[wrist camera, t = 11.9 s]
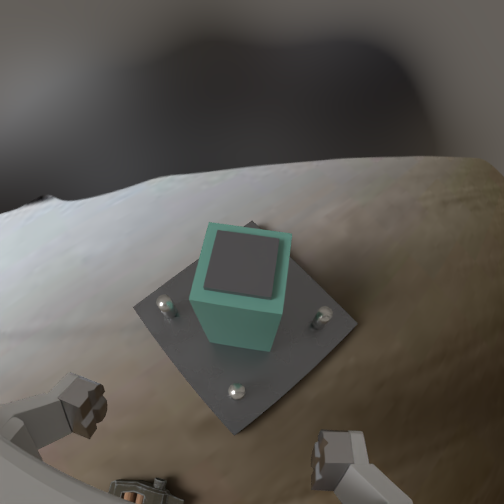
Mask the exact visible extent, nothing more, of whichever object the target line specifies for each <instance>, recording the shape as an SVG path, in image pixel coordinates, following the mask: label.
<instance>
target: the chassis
mask: <svg viewBox="0 0 504 504" xmlns="http://www.w3.org/2000/svg"><path fill="white" fill-rule="evenodd" d="M244 227H248V228H255V229H260V228H259V227H258V226H257V225H256V224H255V223H254V222H253V221H251V222H249V223H248V224H247V225H245V226H244ZM198 261H199V259H198V260H196V261H195V262H194V263H192V264H191V265H190V266H188V267H187V268H185V269H184V270H183V271H181V272H180V273H179V274H177V275H176V276H175V277H173V278H172V279H170V280H169V281H168V282H166V283H165V284H164V285H162V286H161V287H160V288H158V289H157V290H156V291H154V292H153V293H151V294H150V295H149V296H147V297H146V298H145V299H143V300H142V301H141V302H139V303H138V304H137V305H135V306H134V307H133V308H134V309H135V311H136V312H137V314H138V315H139V317H140V318H141V320H142V321H143V322H144V324H145V325H146V327H147V328H148V330H149V331H150V332H151V334H152V335H153V337H154V338H155V339H156V341H157V342H158V343H159V345H160V346H161V347H162V349H163V350H164V351H165V353H166V354H167V355H168V357H169V358H170V359H171V361H172V362H173V363H174V365H175V366H176V367H177V368H178V370H179V371H180V372H181V374H182V375H183V376H184V377H185V379H186V380H187V381H188V382H189V384H190V385H191V386H192V387H193V389H194V390H195V391H196V392H197V393H198V395H199V396H200V397H201V398H202V399H203V401H204V402H205V403H206V404H207V405H208V406H209V408H210V409H211V410H212V411H213V412H214V413H215V415H216V416H217V417H218V418H219V419H220V420H221V421H222V422H223V424H224V425H225V426H226V427H227V428H228V429H229V430H230V431H231V432H232V434H233V435H236V434H237V433H238V432H240V431H241V430H242V429H243V428H245V427H246V426H247V425H248V424H250V423H251V422H252V421H253V420H255V419H256V418H257V417H258V416H259V415H261V414H262V413H263V412H264V411H265V410H267V409H268V408H269V407H270V406H271V405H273V404H274V403H275V402H276V401H277V400H278V399H280V398H281V397H282V396H283V395H284V394H285V393H286V392H288V391H289V390H290V389H291V388H292V387H293V386H294V385H295V384H296V383H298V382H299V381H300V380H301V379H302V378H303V377H304V376H305V375H306V374H307V373H308V372H310V371H311V370H312V369H313V368H314V367H315V366H316V365H317V364H318V363H319V362H320V361H321V360H322V359H323V358H324V357H325V356H326V355H327V354H328V353H329V352H330V351H331V350H332V349H333V348H334V347H335V346H337V345H338V344H339V342H340V341H341V340H342V339H343V338H344V337H345V336H346V335H347V334H348V333H349V332H350V331H351V330H352V329H353V328H354V327H355V326H356V325H357V324H358V323H357V322H356V321H355V320H354V319H353V318H352V317H351V316H350V315H349V314H348V313H347V312H346V311H345V310H344V309H343V308H342V307H341V306H340V305H339V304H338V303H337V302H336V301H335V300H334V299H333V298H332V297H331V296H330V295H329V294H328V293H327V292H326V291H325V290H324V289H323V288H321V287H320V286H319V285H318V284H317V283H316V282H315V281H314V280H313V279H312V278H311V277H310V276H309V275H308V274H307V273H306V272H305V271H304V270H303V269H302V268H301V267H300V266H299V265H298V264H297V263H296V262H295V261H294V260H293V259H292V258H291V257H289V265H288V274H287V282H286V290H285V298H284V306H283V313H282V317H281V320H280V323H279V326H278V329H277V332H276V335H275V338H274V341H273V344H272V347H271V350H270V352H267V351H260V350H254V349H247V348H241V347H235V346H229V345H223V344H217V343H212V342H209V340H208V338H207V336H206V334H205V332H204V330H203V328H202V326H201V324H200V322H199V320H198V318H197V316H196V314H195V312H194V309H193V307H192V305H191V303H190V301H189V296H190V292H191V288H192V284H193V281H194V277H195V273H196V269H197V265H198Z"/></svg>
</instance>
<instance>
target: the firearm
mask: <svg viewBox="0 0 504 504" xmlns="http://www.w3.org/2000/svg"><path fill="white" fill-rule="evenodd" d="M166 482H167V481H166V480H164V479H161V478H155V480H154V485H153V484H151V483H148V482H145V481H143V480H121V479H120V480H115V481H113V482H111V485H110V489H109V492H108V493H110V494H112V495H115V496H117V497H120V498H122V499H125V500H128V501H131V502H133V503H136V504H183V503H184V500H183V499H180V498H178V497H175V496H173V495H172V494H170V492H169V490H167V489H165V486H166Z"/></svg>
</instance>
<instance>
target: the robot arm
mask: <svg viewBox="0 0 504 504" xmlns="http://www.w3.org/2000/svg"><path fill="white" fill-rule="evenodd" d="M104 392H105V391H104V387H103V385H101V384H99V383H97V382H94V381H92V380H89V379H87V378H84V377H82V376H79V375H76V374H74V373H72V372H70V373H67V374H66V375H65V376H64V377H63V378H62V379H61V380H60V381H59V382H58V383H57V384H56V385H55V386H54V387H53V389H52V390H51V391H50V392H49V393H48V394H46V393H42V394H39V395H35V396H32V397H28V398H25V399H21V400H18V401H14V402H10V403H7V404H3V405H0V504H136V503H133V502H131V501H128V500H125V499H122V498H120V497H117V496H115V495H112V494H110V493H107V492H105V491H102V490H100V489H98V488H95V487H93V486H91V485H88V484H86V483H84V482H82V481H80V480H78V479H76V478H73V477H71V476H69V475H67V474H65V473H63V472H62V471H60V470H58V469H56V468H54V467H52V466H50V465H48V464H47V463H45V462H43V460H42V457H41V456H40V454H39V452H38V449H40V448H42V447H44V446H47V445H49V444H51V443H53V442H55V441H57V440H59V439H61V438H63V437H65V436H67V435H69V434H71V433H72V432H73V433H75V434H78V435H80V436H83V437H85V438H88V439H90V438H91V436H92V435H93V434H94V432H95V431H96V429H97V426H96V423H99V422H101V421H102V420H103V419H104V417H105V415H106V412H107V400H106V399H105V398H104V396H103V393H104ZM311 467H312V468H313V469H314V470H313V473H312V475H311V490H325V491H334V493H335V494H336V496H337V497H338V498H339V500H340V501H341V503H342V504H413V502H412V500H411V499H410V498H409V497H408V496H407V495H406V494H405V493H404V492H402V491H401V490H400V489H399V488H398V487H397V486H396V485H395V484H394V483H393V482H392V481H391V480H389V479H388V478H387V477H386V476H385V475H384V474H383V473H382V472H381V471H380V470H379V469H378V468H377V467H376V466H375V465H374V464H369V460H368V455H367V450H366V445H365V440H364V435H363V432H362V431H344V430H323V429H322V430H321V431H320V432H319V435H318V442H317V443H315V445H314V447H313V451H312V455H311Z"/></svg>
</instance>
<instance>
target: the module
mask: <svg viewBox="0 0 504 504" xmlns="http://www.w3.org/2000/svg"><path fill="white" fill-rule="evenodd" d="M291 239H292V234H290V233H283V232H276V231H269V230H262V229H255V228H248V227H241V226H233V225H226V224H218V223H211V222H209V224H208V228H207V231H206V235H205V239H204V242H203V246H202V250H201V254H200V257H199V261H198V265H197V269H196V273H195V277H194V281H193V284H192V288H191V292H190V296H189V301H190V303H191V305H192V307H193V309H194V312H195V314H196V316H197V318H198V320H199V322H200V324H201V326H202V328H203V330H204V332H205V334H206V336H207V338H208V340H209V342H212V343H217V344H223V345H229V346H235V347H241V348H247V349H254V350H260V351H267V352H270V350H271V347H272V344H273V341H274V338H275V335H276V332H277V329H278V326H279V323H280V320H281V317H282V313H283V306H284V298H285V290H286V282H287V274H288V265H289V257H290V248H291Z"/></svg>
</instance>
